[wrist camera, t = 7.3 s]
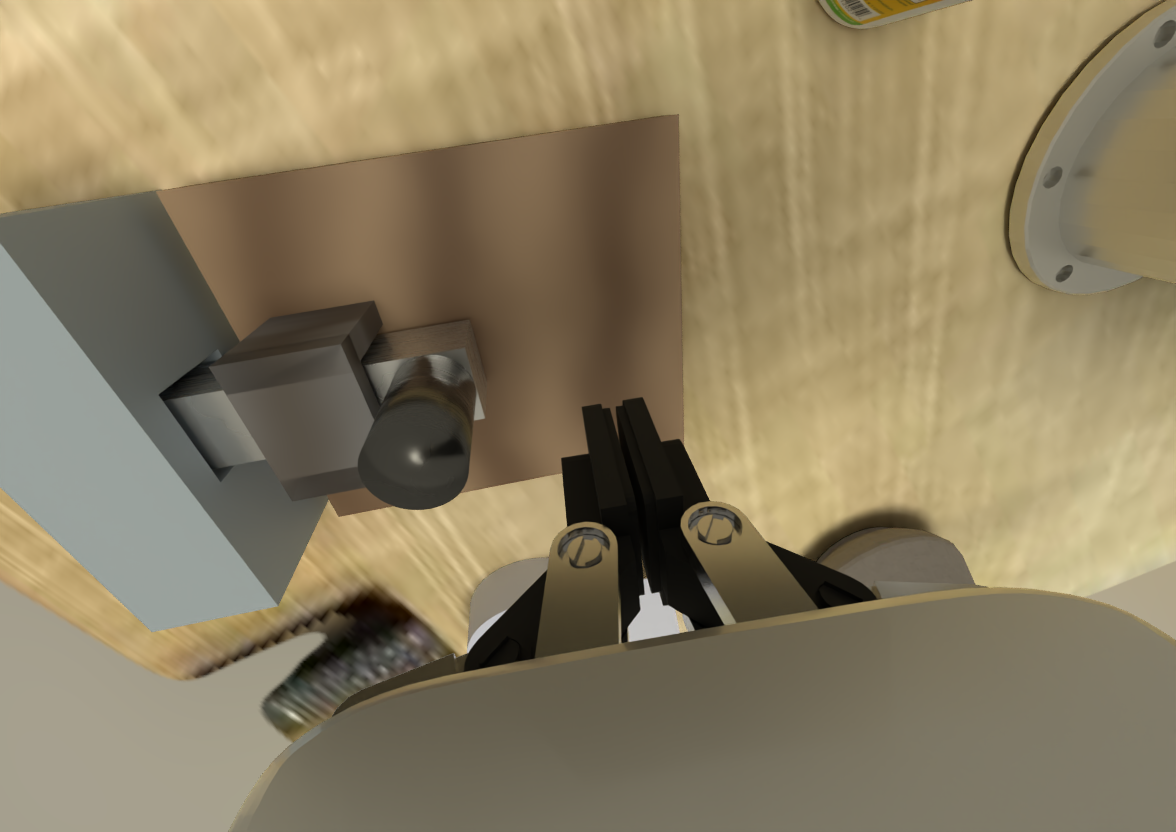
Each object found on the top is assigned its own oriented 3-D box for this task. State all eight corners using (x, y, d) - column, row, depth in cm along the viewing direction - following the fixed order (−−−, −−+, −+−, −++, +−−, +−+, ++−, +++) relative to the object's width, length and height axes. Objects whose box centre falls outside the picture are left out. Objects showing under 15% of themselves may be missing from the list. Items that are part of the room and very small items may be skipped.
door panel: (662, 115, 18) (729, 109, 13) (672, 428, 26) (716, 506, 21) (189, 185, 17) (43, 211, 12) (349, 490, 25) (307, 591, 20)
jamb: (161, 189, 17) (-18, 220, 11) (330, 494, 25) (278, 606, 19) (17, 211, 17) (-244, 254, 11) (235, 513, 25) (152, 632, 19)
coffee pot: (797, 629, 39) (937, 866, 27) (774, 546, 33) (941, 802, 21) (1049, 532, 38) (1325, 736, 25) (1073, 426, 32) (1455, 624, 19)
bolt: (469, 319, 19) (452, 416, 13) (487, 383, 21) (480, 498, 14) (164, 371, 18) (-22, 503, 12) (207, 434, 20) (64, 580, 13)
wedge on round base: (652, 532, 31) (454, 573, 30) (686, 624, 25) (443, 677, 24) (658, 616, 35) (487, 653, 35) (687, 709, 30) (484, 756, 29)
